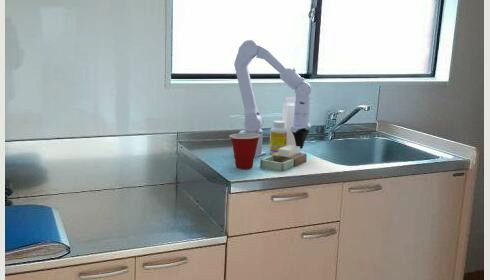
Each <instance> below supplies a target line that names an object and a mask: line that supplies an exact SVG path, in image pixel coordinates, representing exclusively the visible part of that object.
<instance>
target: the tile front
mask: <svg viewBox="0 0 490 280" xmlns="http://www.w3.org/2000/svg"><path fill="white" fill-rule="evenodd" d="M294 153H295V149H294V148H288V147H282V148H279V149H278V156H284V157H291V156H294Z"/></svg>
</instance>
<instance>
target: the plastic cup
mask: <svg viewBox="0 0 490 280" xmlns="http://www.w3.org/2000/svg"><path fill="white" fill-rule="evenodd" d="M259 137H260V134H255V133H239V132H238V133H232V134H230V135H229V138H230V139H231V142H232V143H231V144H232V150H233V159H234V164H235V168H236V169H238V170H246V171H247V170H251V169H253V165H254V161H255V158H256V157H255V153H256V148H257V144H258V139H259Z"/></svg>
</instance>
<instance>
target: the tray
mask: <svg viewBox="0 0 490 280" xmlns="http://www.w3.org/2000/svg"><path fill="white" fill-rule="evenodd" d="M293 167H294V159H290V160H288V161H285V162H283V163H280V162H274V156H273V155H271V154H270V155H269V156H267V157H264V158H261V159H260V160H259V168H262V169H267V170H273V171H279V172H285V171H287V170H289V169H291V168H293ZM294 168H295V167H294Z"/></svg>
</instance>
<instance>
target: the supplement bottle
mask: <svg viewBox="0 0 490 280" xmlns="http://www.w3.org/2000/svg"><path fill="white" fill-rule="evenodd" d="M272 124H273V127H271V128H270V132H269V135H270V136H269V154H270V155H271V154H274V153H276V152H278V149H279V148H282V147H285V146H286V142H287V129H286V128H285V127H284V126H285V122H284V121H282V120H273V123H272Z"/></svg>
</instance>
